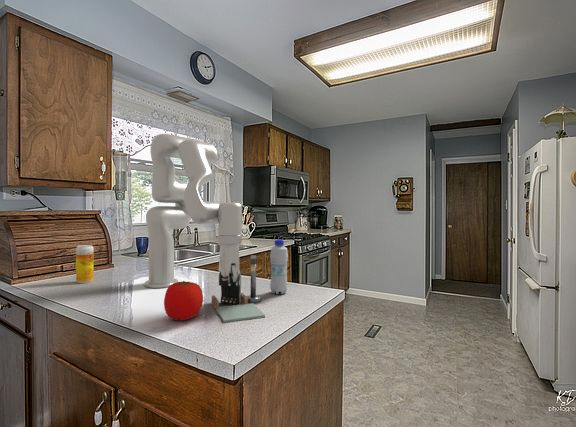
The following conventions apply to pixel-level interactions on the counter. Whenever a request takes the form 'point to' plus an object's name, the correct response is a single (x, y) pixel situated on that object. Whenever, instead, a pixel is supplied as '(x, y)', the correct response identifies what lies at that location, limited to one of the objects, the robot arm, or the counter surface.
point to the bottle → (279, 267)
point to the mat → (239, 312)
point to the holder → (216, 302)
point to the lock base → (254, 299)
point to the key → (253, 276)
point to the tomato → (183, 300)
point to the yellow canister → (84, 264)
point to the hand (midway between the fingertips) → (229, 294)
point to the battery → (224, 283)
